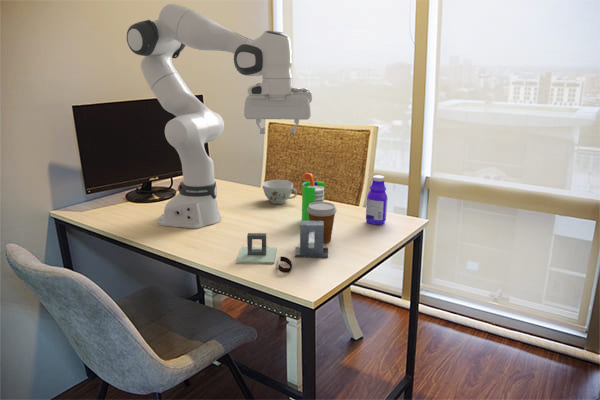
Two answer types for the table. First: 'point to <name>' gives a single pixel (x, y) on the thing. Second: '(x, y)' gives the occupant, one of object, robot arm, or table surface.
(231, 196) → the table surface
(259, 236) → the link
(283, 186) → the teacup
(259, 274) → the table surface
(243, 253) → the mat
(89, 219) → the table surface
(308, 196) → the green-shelled ribbed roller
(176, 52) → the robot arm
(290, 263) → the watch
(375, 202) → the bottle
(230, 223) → the table surface
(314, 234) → the hook stand
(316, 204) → the disposable coffee cup
